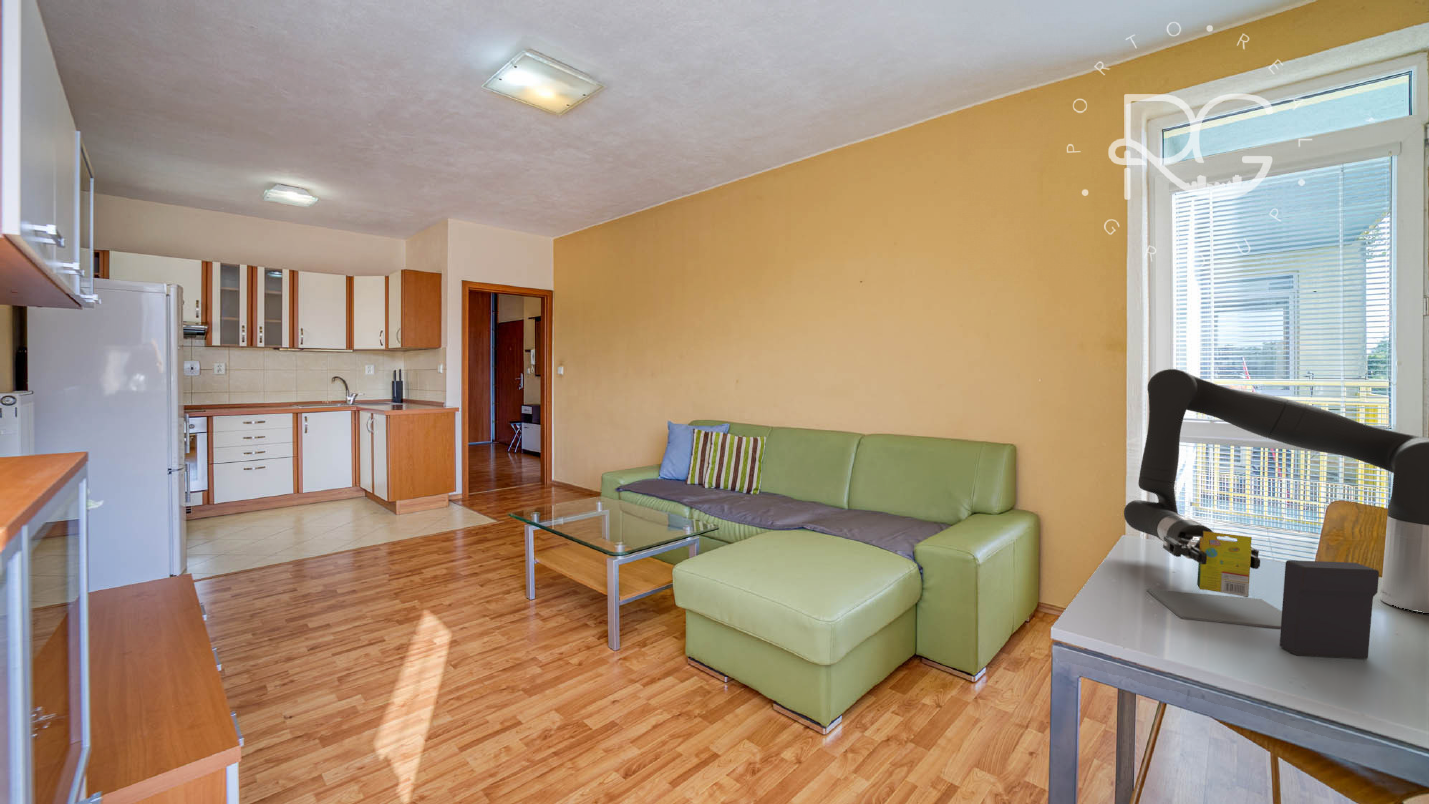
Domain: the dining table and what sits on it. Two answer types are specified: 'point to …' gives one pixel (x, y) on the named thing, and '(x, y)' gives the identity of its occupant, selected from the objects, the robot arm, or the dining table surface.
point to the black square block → (1327, 608)
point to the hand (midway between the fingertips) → (1230, 561)
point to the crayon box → (1225, 564)
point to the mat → (1220, 608)
